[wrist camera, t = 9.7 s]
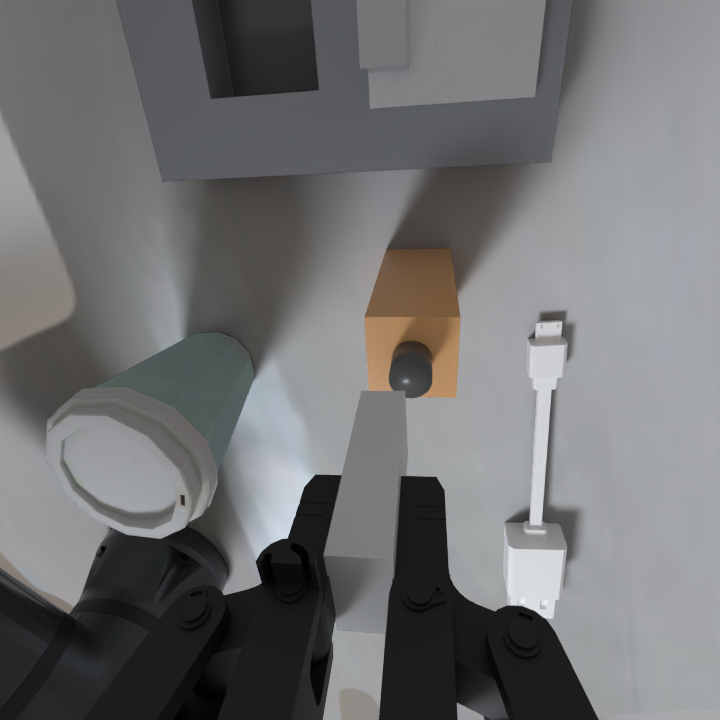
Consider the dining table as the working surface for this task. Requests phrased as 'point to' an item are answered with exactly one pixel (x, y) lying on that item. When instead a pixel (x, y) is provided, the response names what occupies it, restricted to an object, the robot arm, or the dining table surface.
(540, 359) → the charging cable
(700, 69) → the dining table surface
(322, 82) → the socket box
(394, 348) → the plug
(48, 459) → the disposable coffee cup
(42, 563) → the dining table surface
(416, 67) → the shutter
